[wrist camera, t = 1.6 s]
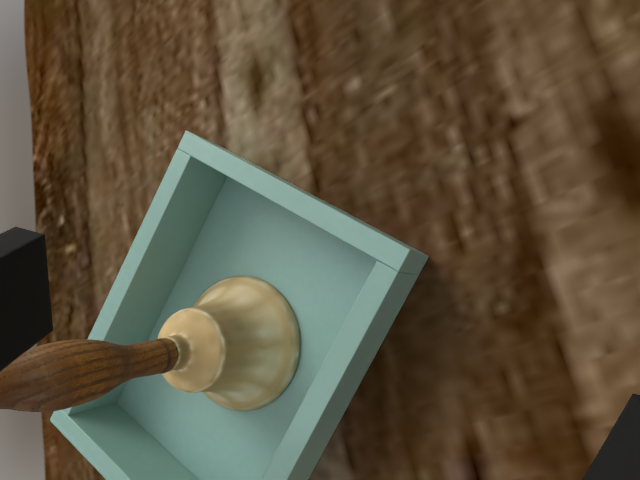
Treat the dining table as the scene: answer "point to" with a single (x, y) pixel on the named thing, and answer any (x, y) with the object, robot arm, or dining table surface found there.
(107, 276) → the dining table surface
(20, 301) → the robot arm
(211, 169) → the open box
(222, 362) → the hand bell
